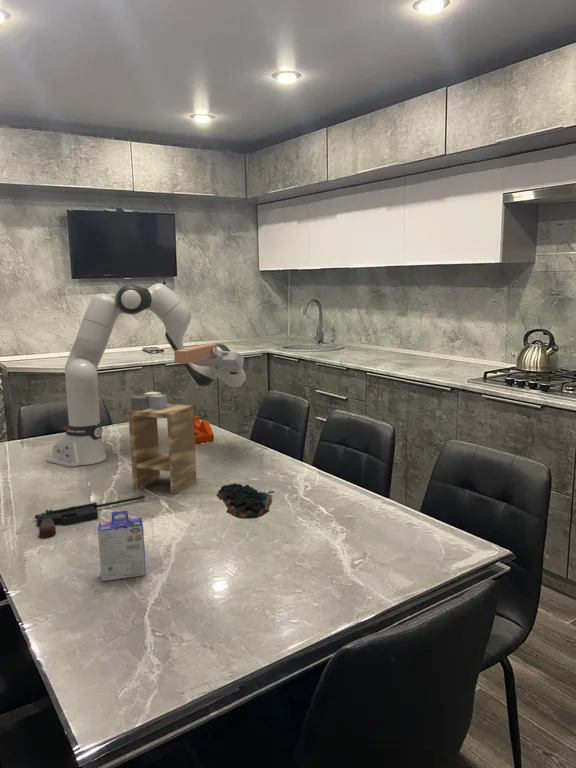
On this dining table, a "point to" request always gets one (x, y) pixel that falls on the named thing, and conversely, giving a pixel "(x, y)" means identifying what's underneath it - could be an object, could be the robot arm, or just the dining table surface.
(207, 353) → the terracotta bar
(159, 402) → the slate cube
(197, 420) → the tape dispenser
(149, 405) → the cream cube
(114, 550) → the ink cartridge box
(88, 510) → the firearm
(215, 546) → the dining table surface
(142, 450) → the oak shelf
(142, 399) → the charcoal cube
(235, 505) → the mineral specimen
